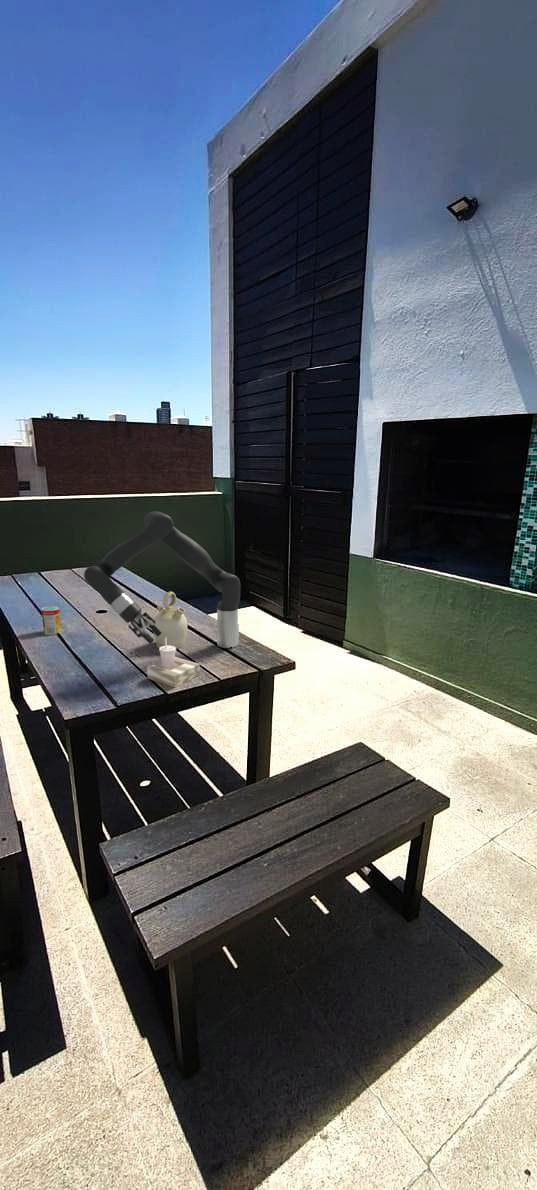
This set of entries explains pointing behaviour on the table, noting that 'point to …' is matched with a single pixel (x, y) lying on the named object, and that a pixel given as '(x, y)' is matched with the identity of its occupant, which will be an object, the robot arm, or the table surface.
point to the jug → (170, 623)
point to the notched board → (174, 672)
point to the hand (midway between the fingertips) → (156, 638)
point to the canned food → (51, 620)
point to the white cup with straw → (167, 655)
